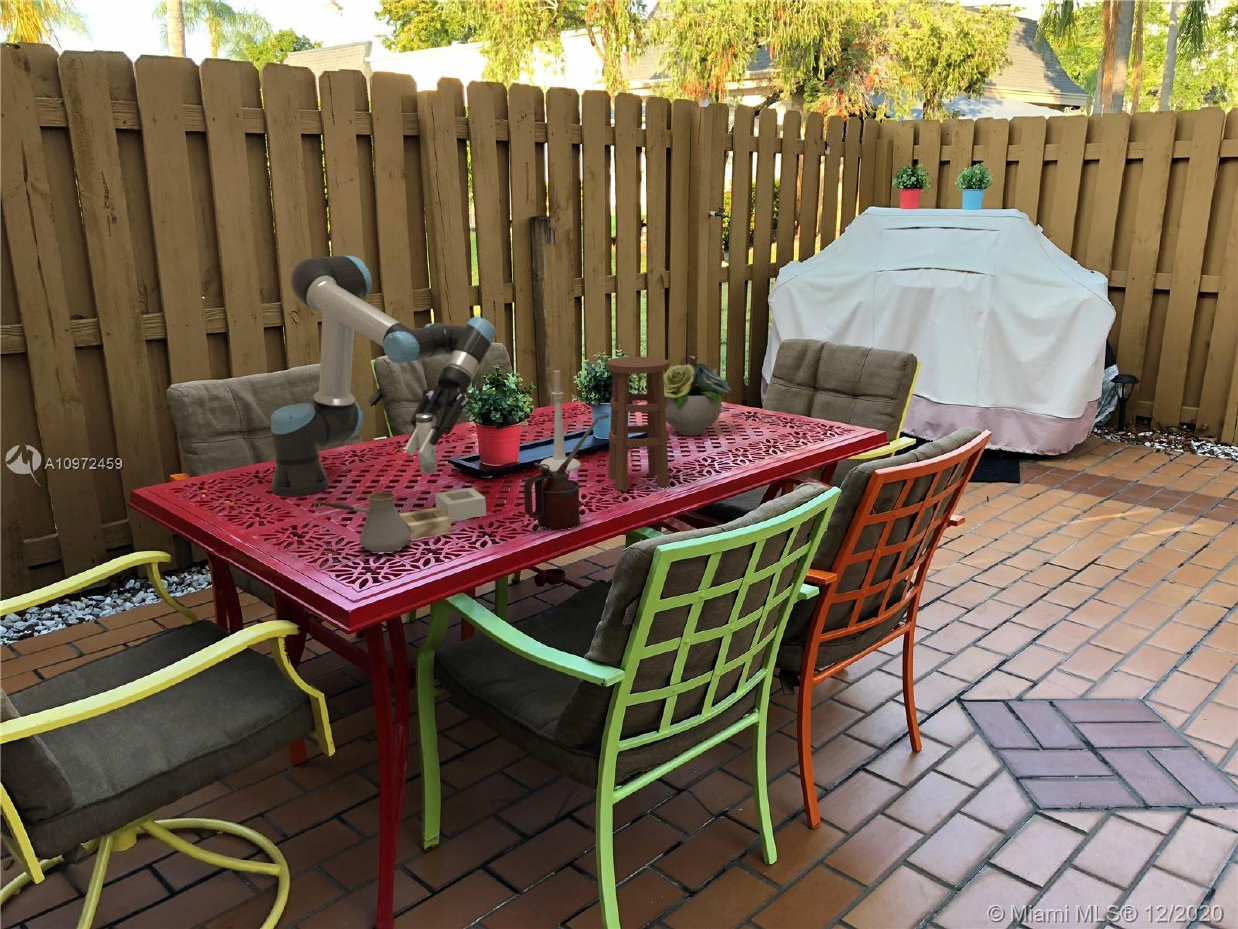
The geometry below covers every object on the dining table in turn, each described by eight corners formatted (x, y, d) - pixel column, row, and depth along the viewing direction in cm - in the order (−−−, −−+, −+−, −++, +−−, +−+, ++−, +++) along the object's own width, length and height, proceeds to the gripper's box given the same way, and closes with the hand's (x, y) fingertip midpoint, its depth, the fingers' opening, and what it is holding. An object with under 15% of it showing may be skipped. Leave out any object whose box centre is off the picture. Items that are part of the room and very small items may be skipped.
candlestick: (534, 462, 273) (531, 366, 265) (574, 458, 277) (572, 364, 269) (544, 474, 262) (540, 374, 253) (585, 469, 265) (583, 371, 257)
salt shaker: (422, 474, 211) (418, 417, 207) (418, 470, 214) (413, 414, 210) (439, 472, 213) (435, 415, 209) (434, 467, 216) (430, 412, 212)
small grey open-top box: (448, 523, 221) (447, 504, 220) (436, 511, 230) (435, 493, 228) (486, 516, 226) (485, 497, 224) (472, 505, 234) (471, 487, 233)
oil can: (544, 539, 210) (540, 437, 203) (515, 528, 217) (510, 430, 210) (625, 510, 229) (624, 417, 222) (596, 501, 237) (594, 410, 230)
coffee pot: (397, 535, 213) (392, 476, 209) (420, 549, 205) (415, 487, 200) (311, 558, 200) (303, 495, 195) (332, 573, 191) (325, 508, 187)
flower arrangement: (688, 421, 325) (689, 355, 318) (740, 433, 307) (742, 363, 300) (639, 432, 309) (639, 363, 302) (692, 446, 291) (693, 372, 284)
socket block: (411, 542, 209) (409, 526, 208) (399, 529, 217) (398, 514, 216) (451, 534, 213) (450, 518, 212) (438, 522, 222) (437, 507, 221)
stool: (647, 370, 229) (588, 363, 240) (647, 497, 239) (590, 485, 250) (686, 359, 245) (628, 353, 256) (685, 480, 255) (629, 469, 265)
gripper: (492, 385, 216) (451, 467, 207) (440, 379, 225) (398, 457, 216) (477, 367, 210) (434, 450, 202) (424, 361, 219) (380, 441, 210)
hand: (415, 453), depth 209 cm, fingers closed on salt shaker, 4 cm apart
